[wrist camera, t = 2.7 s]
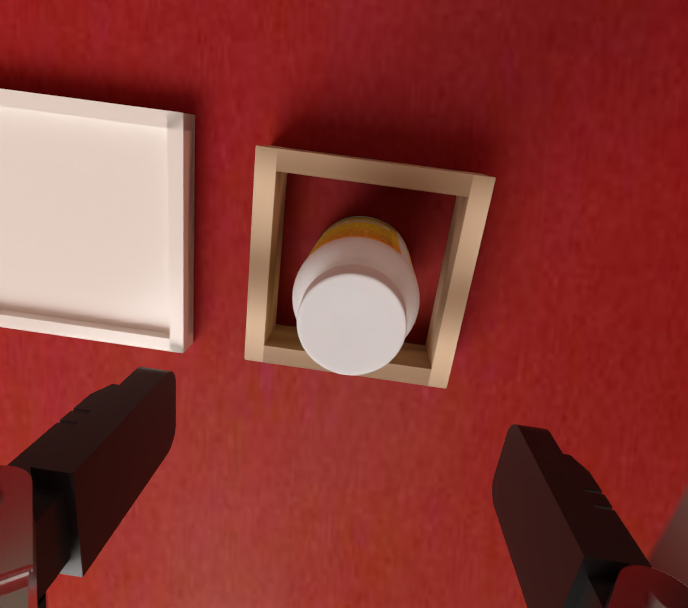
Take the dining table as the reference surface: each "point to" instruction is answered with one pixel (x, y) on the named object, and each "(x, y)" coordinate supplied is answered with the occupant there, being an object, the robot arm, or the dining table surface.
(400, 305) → the supplement bottle
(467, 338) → the dining table surface
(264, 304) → the oak holder
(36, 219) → the ceramic tray
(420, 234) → the dining table surface
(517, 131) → the dining table surface
